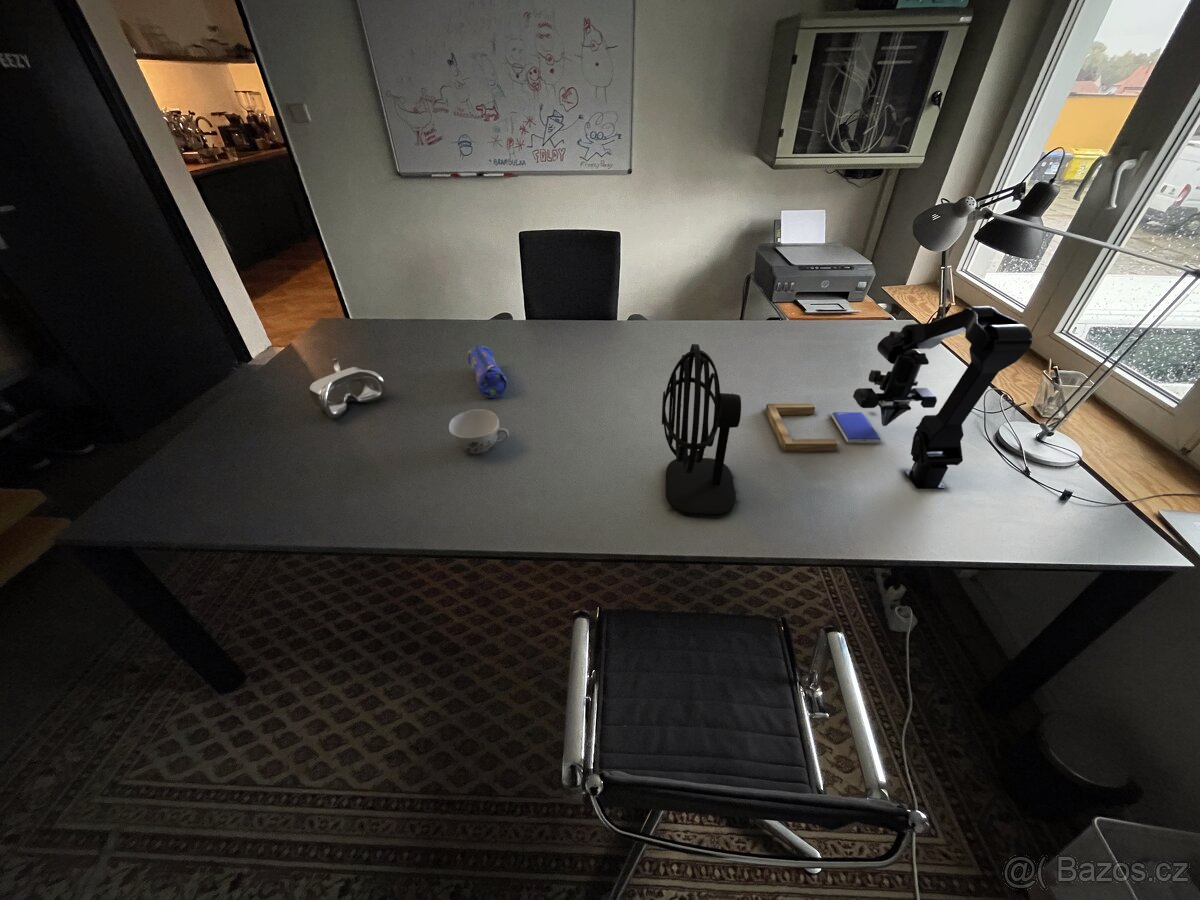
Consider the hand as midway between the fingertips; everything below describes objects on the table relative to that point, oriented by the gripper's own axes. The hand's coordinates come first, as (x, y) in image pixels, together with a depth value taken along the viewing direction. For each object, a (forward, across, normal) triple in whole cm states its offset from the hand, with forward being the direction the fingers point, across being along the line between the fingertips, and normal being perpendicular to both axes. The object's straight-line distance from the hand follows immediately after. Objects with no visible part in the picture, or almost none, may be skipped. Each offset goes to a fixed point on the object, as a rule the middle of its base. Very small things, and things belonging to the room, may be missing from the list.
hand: (883, 425), depth 134 cm
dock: (+1, +21, 0) cm, 21 cm away
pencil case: (+2, +112, -26) cm, 115 cm away
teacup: (+2, +106, +8) cm, 107 cm away
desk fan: (+2, +53, +23) cm, 58 cm away
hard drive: (+2, +7, 0) cm, 8 cm away
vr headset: (+2, +150, -13) cm, 150 cm away
